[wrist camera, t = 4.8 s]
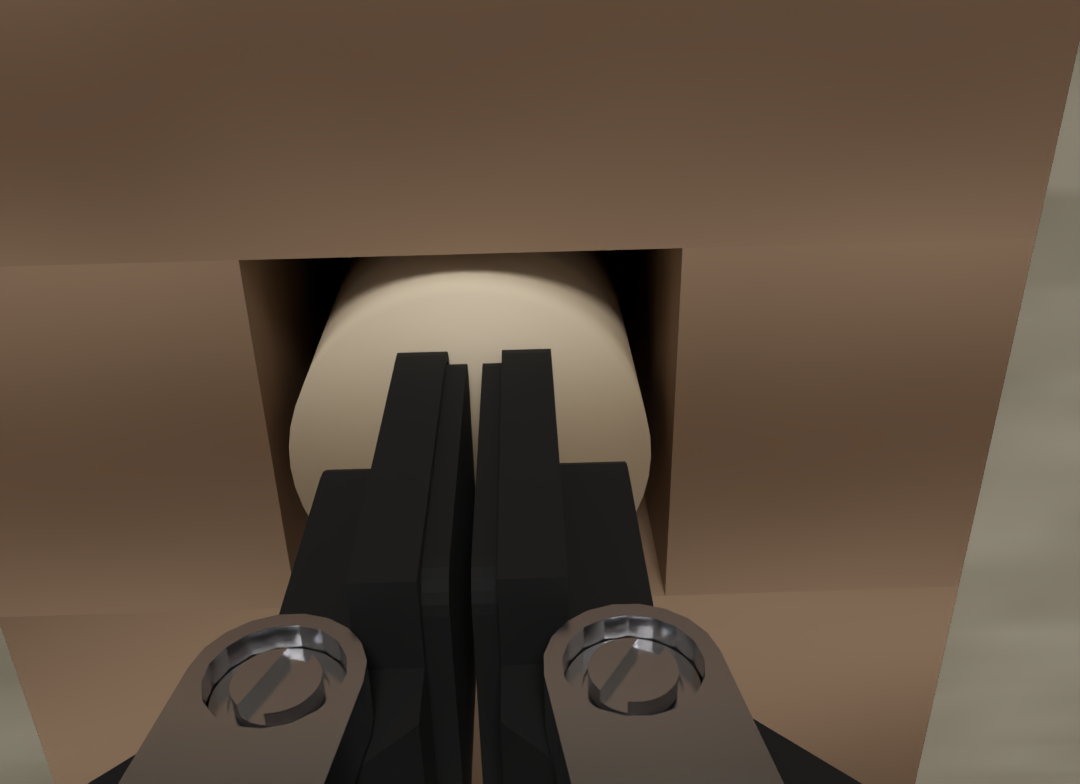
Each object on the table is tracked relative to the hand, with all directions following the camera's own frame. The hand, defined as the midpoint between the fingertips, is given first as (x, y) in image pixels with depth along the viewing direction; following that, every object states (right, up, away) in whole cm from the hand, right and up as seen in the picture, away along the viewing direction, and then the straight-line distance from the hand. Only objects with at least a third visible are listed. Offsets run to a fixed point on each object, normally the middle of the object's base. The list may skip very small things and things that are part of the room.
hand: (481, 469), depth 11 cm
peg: (0, +3, +5) cm, 6 cm away
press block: (0, -3, +9) cm, 9 cm away
